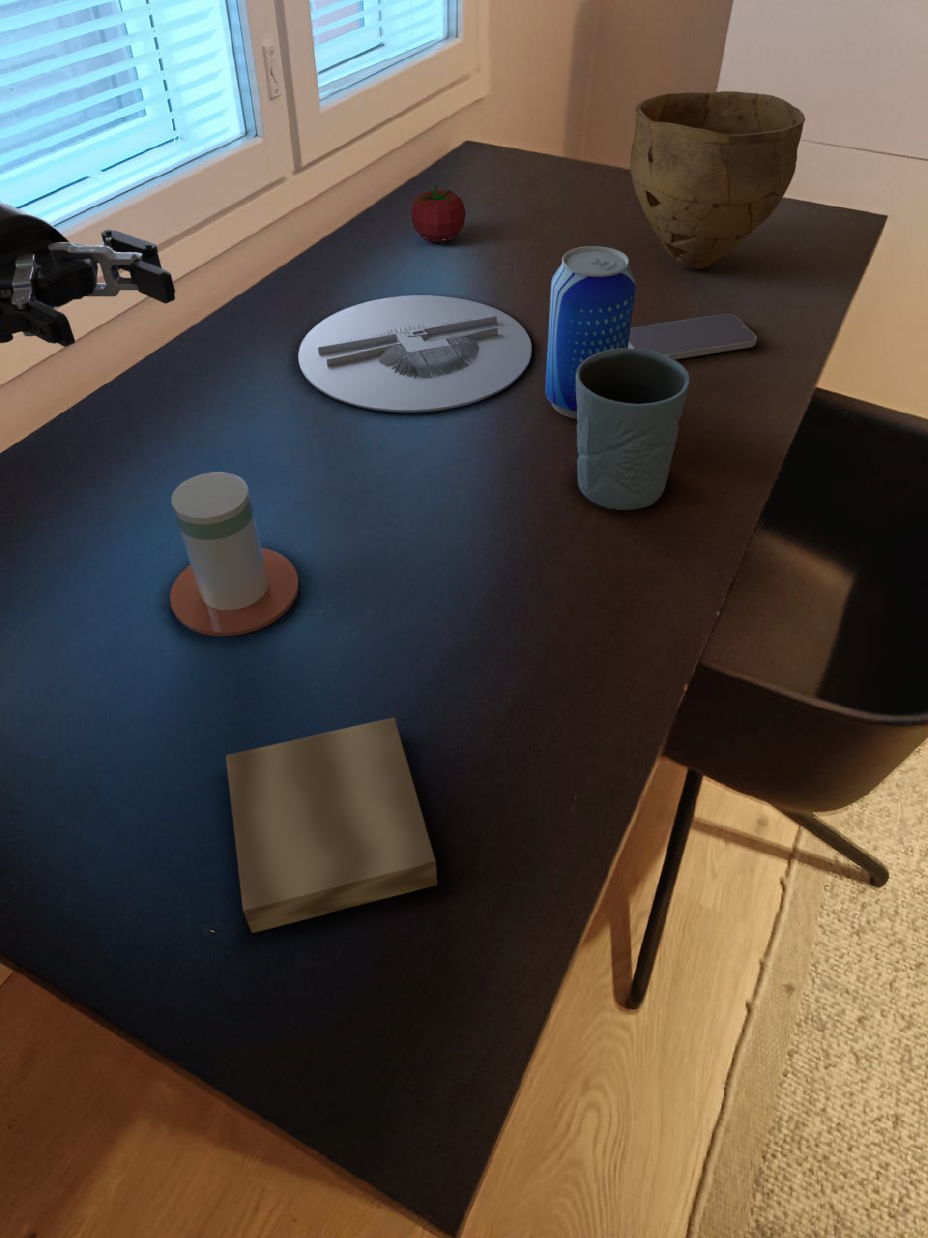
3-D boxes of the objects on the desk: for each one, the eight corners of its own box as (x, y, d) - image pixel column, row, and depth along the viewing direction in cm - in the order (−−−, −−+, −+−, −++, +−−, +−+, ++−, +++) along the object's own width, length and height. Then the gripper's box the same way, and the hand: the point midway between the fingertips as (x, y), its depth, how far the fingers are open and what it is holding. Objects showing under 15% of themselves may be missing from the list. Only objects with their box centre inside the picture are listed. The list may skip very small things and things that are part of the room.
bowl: (587, 266, 124) (601, 105, 110) (679, 225, 133) (702, 73, 119) (710, 317, 113) (743, 145, 99) (800, 269, 122) (842, 106, 108)
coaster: (174, 648, 73) (172, 644, 73) (168, 563, 81) (167, 559, 81) (307, 621, 75) (306, 617, 75) (289, 540, 83) (289, 536, 83)
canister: (239, 620, 75) (214, 527, 68) (184, 596, 77) (154, 503, 70) (283, 577, 79) (264, 484, 72) (229, 555, 81) (205, 463, 74)
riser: (251, 933, 56) (242, 911, 54) (234, 780, 64) (225, 755, 62) (437, 885, 58) (435, 861, 56) (397, 742, 66) (394, 717, 64)
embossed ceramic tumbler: (668, 520, 84) (689, 409, 76) (561, 509, 86) (570, 399, 77) (671, 458, 91) (690, 350, 83) (572, 449, 93) (581, 342, 84)
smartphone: (618, 329, 109) (732, 312, 111) (618, 336, 110) (730, 319, 112) (642, 358, 104) (760, 340, 106) (641, 366, 105) (759, 347, 107)
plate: (487, 284, 120) (487, 275, 119) (567, 387, 101) (568, 377, 101) (280, 316, 115) (279, 307, 114) (324, 431, 96) (322, 421, 95)
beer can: (558, 428, 96) (568, 282, 84) (535, 388, 101) (542, 247, 90) (632, 417, 97) (652, 272, 86) (605, 378, 103) (620, 238, 91)
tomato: (403, 234, 132) (400, 180, 127) (450, 224, 135) (449, 170, 130) (426, 254, 127) (424, 198, 122) (475, 243, 130) (475, 188, 124)
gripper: (-112, 232, 65) (9, 293, 57) (62, 178, 72) (188, 225, 65) (-67, 330, 70) (49, 397, 62) (90, 269, 78) (210, 323, 70)
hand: (120, 309), depth 64 cm, fingers open, 8 cm apart
